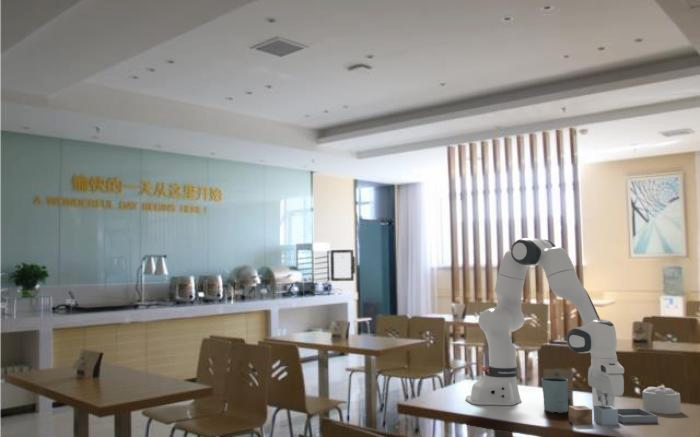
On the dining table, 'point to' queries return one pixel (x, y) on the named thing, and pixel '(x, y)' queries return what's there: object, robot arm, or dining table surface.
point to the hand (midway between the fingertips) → (605, 403)
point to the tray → (636, 416)
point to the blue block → (606, 415)
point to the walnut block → (580, 415)
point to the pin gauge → (604, 401)
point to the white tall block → (595, 398)
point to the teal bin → (555, 394)
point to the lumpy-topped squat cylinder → (661, 400)
